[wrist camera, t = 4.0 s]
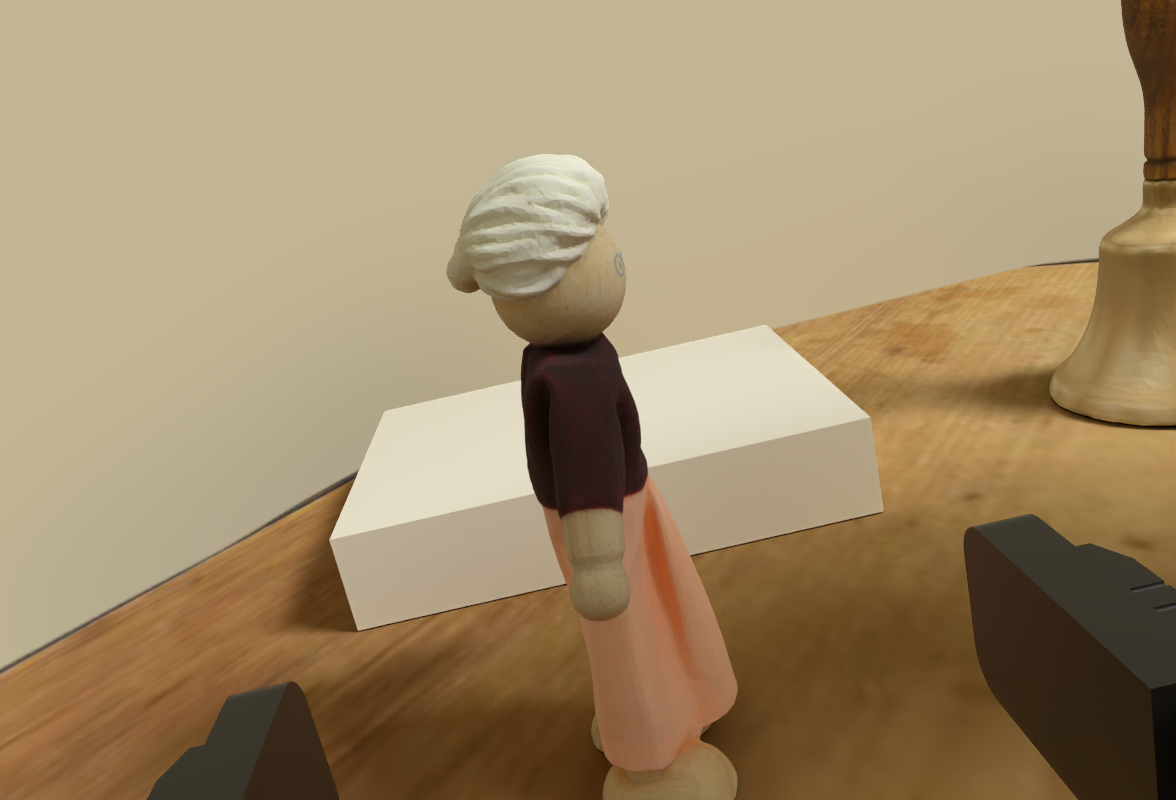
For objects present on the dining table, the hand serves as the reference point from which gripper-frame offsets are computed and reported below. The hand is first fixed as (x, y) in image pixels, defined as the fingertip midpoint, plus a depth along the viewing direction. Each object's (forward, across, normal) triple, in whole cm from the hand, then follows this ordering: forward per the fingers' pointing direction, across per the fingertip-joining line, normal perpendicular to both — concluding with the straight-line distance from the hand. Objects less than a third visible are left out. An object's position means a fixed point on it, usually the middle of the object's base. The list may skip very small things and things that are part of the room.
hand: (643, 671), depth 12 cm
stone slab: (+24, 0, +7) cm, 25 cm away
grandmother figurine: (+9, 0, +7) cm, 11 cm away
